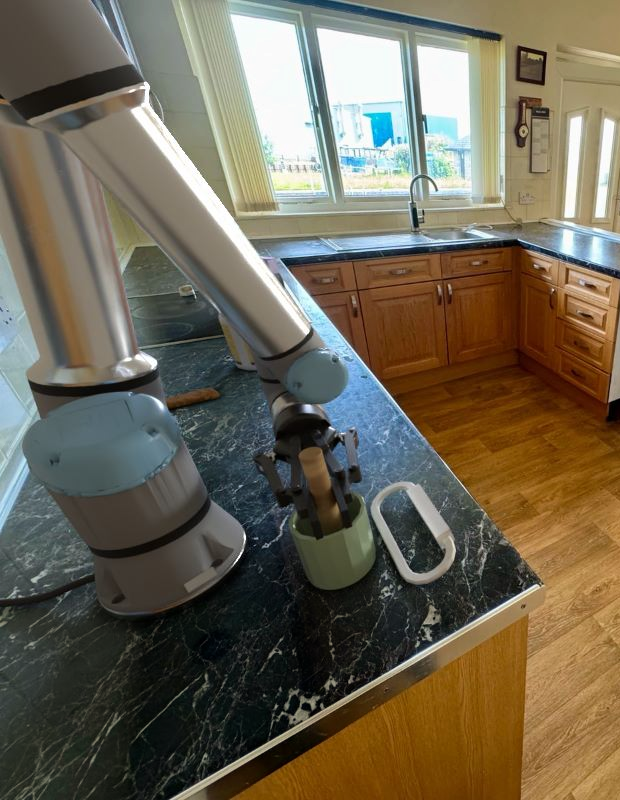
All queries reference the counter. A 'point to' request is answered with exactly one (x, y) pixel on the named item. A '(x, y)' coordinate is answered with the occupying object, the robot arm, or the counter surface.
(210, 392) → the brown rounded bar
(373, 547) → the cup
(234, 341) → the supplement tub
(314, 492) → the stick
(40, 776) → the counter surface
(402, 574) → the white oval ring
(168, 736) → the counter surface
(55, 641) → the counter surface
